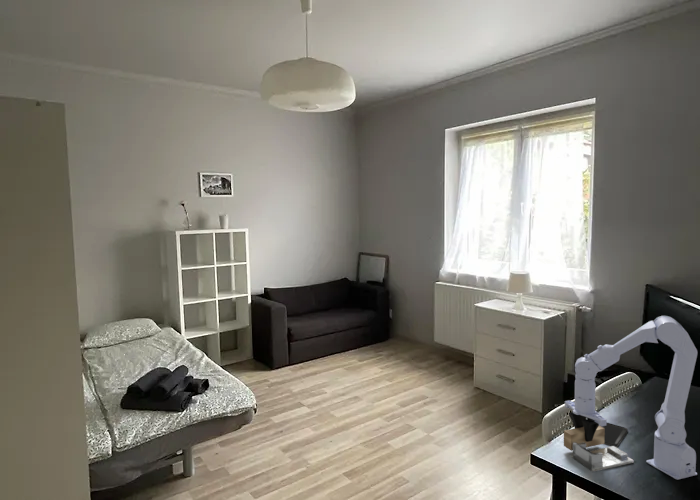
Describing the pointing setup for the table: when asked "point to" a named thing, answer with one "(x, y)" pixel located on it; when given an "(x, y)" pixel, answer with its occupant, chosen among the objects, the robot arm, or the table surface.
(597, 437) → the oak rail
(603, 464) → the bracket board
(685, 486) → the table surface
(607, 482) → the table surface
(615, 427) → the phone
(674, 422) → the robot arm
